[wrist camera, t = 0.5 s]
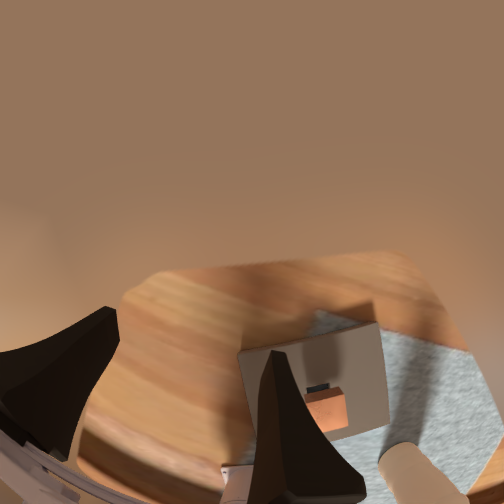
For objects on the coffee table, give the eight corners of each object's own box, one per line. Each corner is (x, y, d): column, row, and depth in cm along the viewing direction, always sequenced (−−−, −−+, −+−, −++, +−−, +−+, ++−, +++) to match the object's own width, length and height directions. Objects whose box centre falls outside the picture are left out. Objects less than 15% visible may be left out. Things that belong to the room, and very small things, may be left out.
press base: (383, 416, 31) (390, 423, 28) (261, 445, 32) (260, 454, 29) (371, 320, 34) (378, 322, 31) (240, 350, 35) (237, 354, 32)
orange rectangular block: (337, 406, 29) (348, 426, 23) (306, 414, 29) (311, 435, 23) (333, 378, 30) (344, 394, 24) (301, 386, 30) (305, 403, 24)
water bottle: (411, 432, 29) (499, 514, 5) (419, 459, 28) (493, 537, 3) (371, 455, 29) (433, 561, 5) (382, 480, 28) (436, 576, 3)
